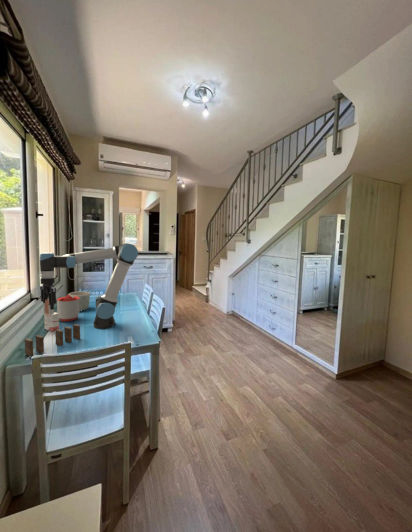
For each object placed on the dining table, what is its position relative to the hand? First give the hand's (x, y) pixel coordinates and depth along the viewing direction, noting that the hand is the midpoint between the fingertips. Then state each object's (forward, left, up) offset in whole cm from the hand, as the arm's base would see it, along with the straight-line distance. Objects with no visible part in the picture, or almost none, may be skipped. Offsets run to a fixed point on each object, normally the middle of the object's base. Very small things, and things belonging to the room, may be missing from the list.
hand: (48, 313), depth 155 cm
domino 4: (-9, +12, -16) cm, 22 cm away
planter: (-6, -61, -16) cm, 63 cm away
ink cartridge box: (+3, -16, -16) cm, 23 cm away
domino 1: (+3, +24, -16) cm, 29 cm away
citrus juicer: (-3, -37, -16) cm, 41 cm away
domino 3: (0, 0, 0) cm, 0 cm away
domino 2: (-1, +20, -16) cm, 25 cm away
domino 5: (-12, +8, -16) cm, 22 cm away
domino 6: (-16, +4, -16) cm, 23 cm away
